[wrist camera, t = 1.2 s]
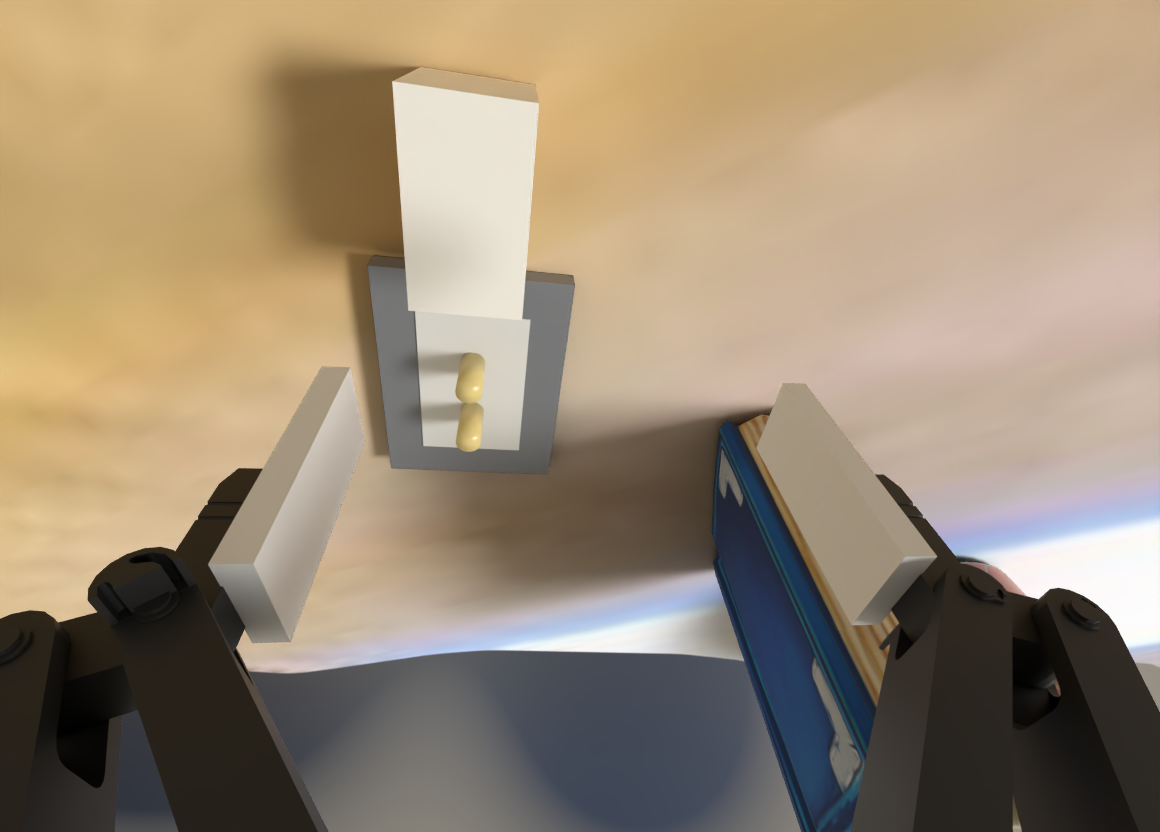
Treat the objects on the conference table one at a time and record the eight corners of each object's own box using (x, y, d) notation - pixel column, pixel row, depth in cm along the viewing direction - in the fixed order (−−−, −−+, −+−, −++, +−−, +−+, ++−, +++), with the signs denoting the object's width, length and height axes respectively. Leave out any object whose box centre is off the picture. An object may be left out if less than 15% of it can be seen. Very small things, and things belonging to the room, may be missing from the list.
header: (373, 255, 30) (351, 291, 26) (573, 275, 32) (580, 311, 28) (395, 455, 40) (381, 502, 36) (547, 461, 42) (550, 507, 38)
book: (773, 565, 54) (915, 879, 34) (706, 575, 54) (811, 894, 34) (803, 403, 40) (1066, 769, 21) (714, 417, 40) (894, 794, 21)
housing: (421, 66, 25) (392, 81, 19) (535, 84, 26) (539, 103, 20) (429, 258, 31) (408, 310, 25) (522, 267, 32) (522, 320, 26)
